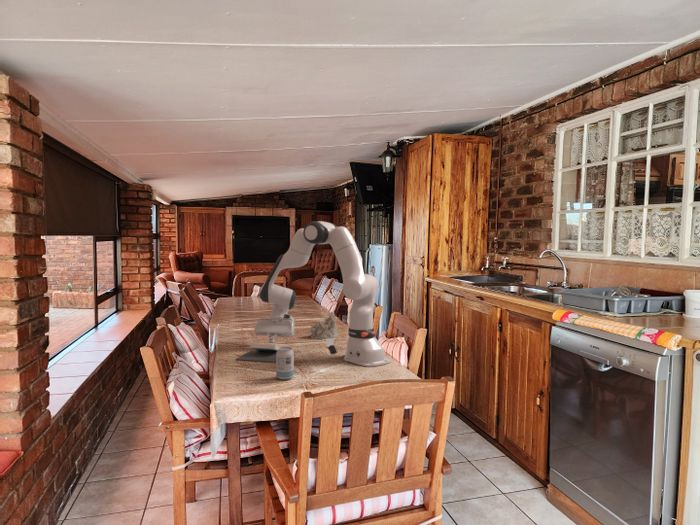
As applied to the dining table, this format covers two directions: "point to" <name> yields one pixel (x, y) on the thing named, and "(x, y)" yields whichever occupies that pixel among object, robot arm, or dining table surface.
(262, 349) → the tile
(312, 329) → the jagged grey rock
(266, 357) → the mat
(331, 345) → the kitchen cleaver
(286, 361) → the beverage can
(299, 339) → the dining table surface
